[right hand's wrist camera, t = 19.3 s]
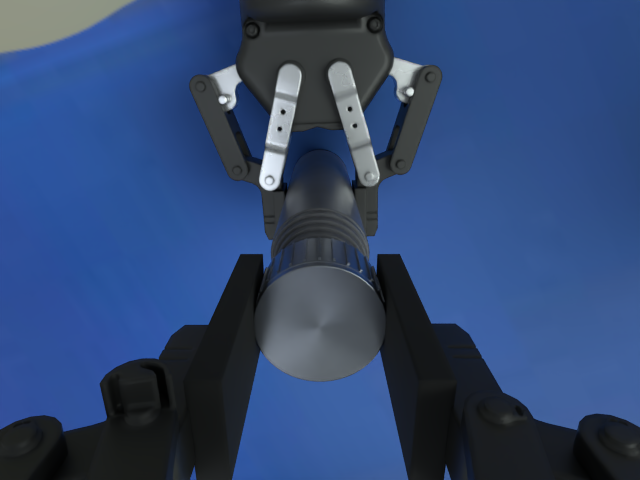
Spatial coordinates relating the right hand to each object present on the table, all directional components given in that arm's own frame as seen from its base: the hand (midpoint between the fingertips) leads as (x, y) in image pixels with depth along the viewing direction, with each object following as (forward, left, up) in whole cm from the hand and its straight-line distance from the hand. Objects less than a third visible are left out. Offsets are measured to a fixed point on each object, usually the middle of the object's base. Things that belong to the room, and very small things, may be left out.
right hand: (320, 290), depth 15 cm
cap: (0, 0, +2) cm, 2 cm away
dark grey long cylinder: (0, 0, -18) cm, 18 cm away
